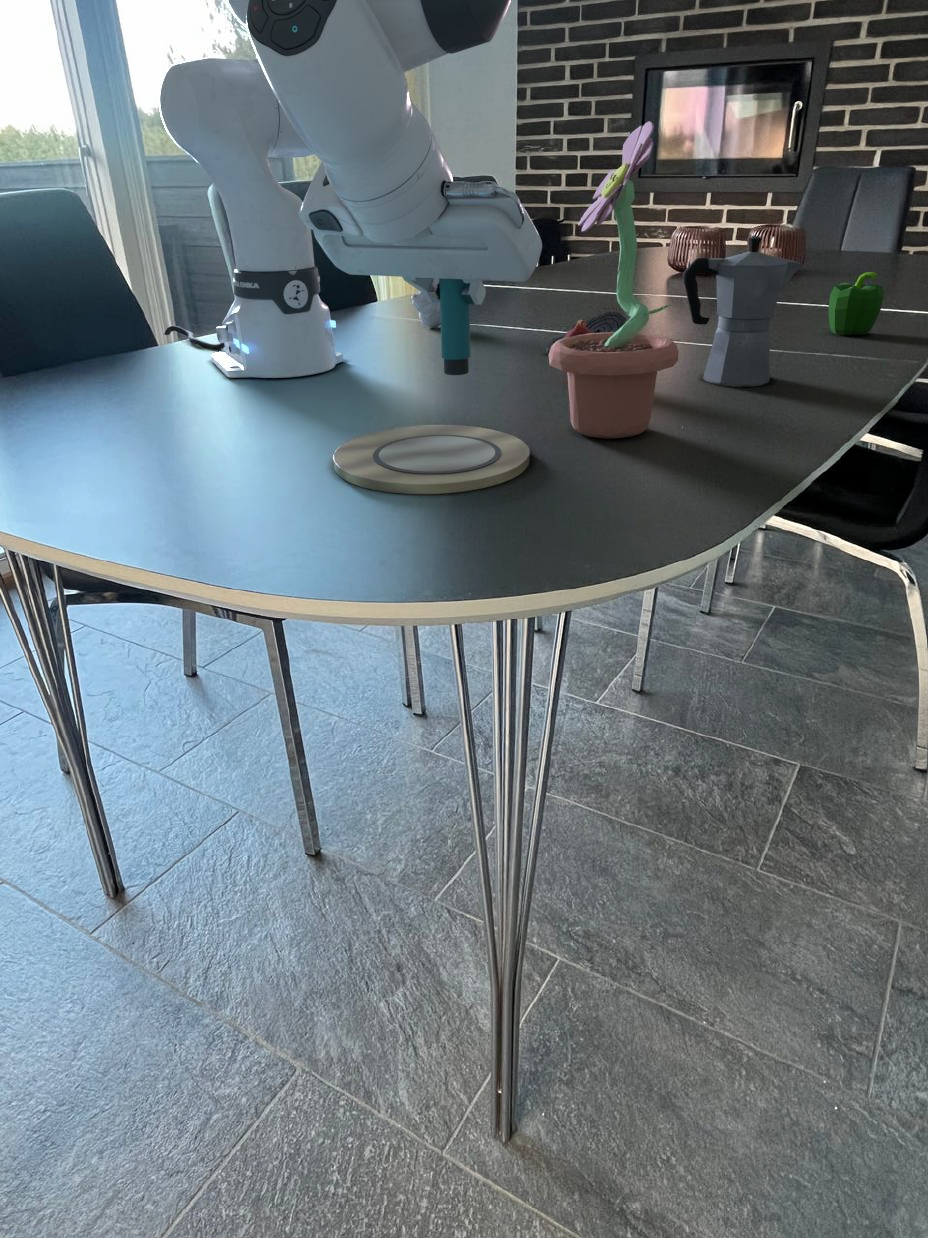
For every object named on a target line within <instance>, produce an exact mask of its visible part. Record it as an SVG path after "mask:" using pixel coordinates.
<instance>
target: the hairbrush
mask: <svg viewBox="0 0 928 1238" xmlns="http://www.w3.org/2000/svg"><path fill="white" fill-rule="evenodd" d="M611 308H612V311H613V312H612V311H608V310H610V308H609V307H607V308H605V309H604V312H603V311H600V310H598V311H597V312H596V310H595V313H596V316H593V312H592V313H590V314H591V317H588V318H589V319H588V318H585V319H586V320H585V319H584V318H583V319H582V320H583V321H584V320H585V322H586V324H585V326H586V328H587V329H589V330H590V331H591V332H592V333H602V332H616V331H618V330H619V329H620V328H621V327H622V326H623V325H624V324H625V323H626V322H627V321H628V319H627V317H626V316H624V313H623V312H622V311H621V308H618V309H619V311H620V312H619V311H618V309H617V307H616V308H615V309H614V307H611ZM576 324H577V323H576ZM576 324H574V325H572V329H574V328H575V326H576ZM570 331H571V330H569V331H567V332H564V333H561V334H559V335H558V336H556V337H554V338H552V339H551V340H550V342H549V343H548V344H546V354H547V356H548V357H549V352H550V349H551V346H552V345H553V344H554V343H555V342H556V341H558V340H561V339H563V338H564V337H565V335H566V334H567V333H568V332H570Z"/></svg>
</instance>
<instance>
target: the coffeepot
mask: <svg viewBox="0 0 928 1238" xmlns="http://www.w3.org/2000/svg"><path fill="white" fill-rule="evenodd" d="M762 239H763V237H760V236H758V235H754V236H751V237H749V238H748V250H749V251H747V252H743V253H739V254H736V255H731V256H729V257H725V258H717V257H716V258H715V257H714V258H709V257H696V258H695V259H694V260H693V261H692V262H691V263H689V266H688V267H686V269H685V270H684V271H683V273H682V281H683V286H684V291H685V295H686V299H687V305H688V308H689V312H690V318H691V322H692V323H693V324H695V325H701V326H702V325H703V326H704V325H708V323H709V321H710V317H709V316H702V315H701V308H702V307H701V305H702V302H701V300H700V297H699V285H698V284H699V283H698V280H697V276H698V275H699V274H707V275H713V276H714V275H715V276H716V278H715V279H716V315H717V316H718V322H717V328H716V330H715V332H714V333H715V334H714V338H713V342H712V345H711V348H710V353H709V356H708V359H707V363H706V366H705V370H704V373H703V376H702V379H703V380H704V381H706V382H708V383H710V384H713V385H717V386H722V387H723V386H724V387H734V388H735V387H736V388H751V387H752V388H753V387H760V386H764V385H767V384H768V383H769V382H770V379H771V333H770V331H771V330H770V328H771V321H772V317H774V314H775V311H776V307H777V303H778V300H779V296H780V294H781V293H782V292H783V290H784V289H785V287H786V286H787V284H788V283H789V281H790V280H791V279H792V277H793V276H794V275H795V273H796V272H797V271H798V270H799V269H802V268H803V264H802V262H798V261H794V260H791V259H786V258H783V257H778V256H775V255H770V254H766V253H764V252H761V251H759V249H760V247H761V246H760V245H761V242H762Z"/></svg>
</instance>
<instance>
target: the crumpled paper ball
mask: <svg viewBox="0 0 928 1238" xmlns="http://www.w3.org/2000/svg"><path fill="white" fill-rule="evenodd" d="M411 299H412V301H411V302H412V303H411V304H412V306H413V307H414V309H415V310H416V311H417V312H418V317H419V320H420V322H421V323H422V325H424V326H425V327H427V328H430V329H434V328H438V327H441V318H440V302H428V300H427V299H426V297H425V295H424V294H423V292H421V291H419V290H417V292H416V293H414V294H413V295H412V296H411Z"/></svg>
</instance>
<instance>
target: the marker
mask: <svg viewBox="0 0 928 1238" xmlns="http://www.w3.org/2000/svg"><path fill="white" fill-rule="evenodd" d="M439 286H440V318H441V325H440V345H441V346H440V347H441V358H442V359H443V373H444V374H445V375H448V376H464V375H467V374H468V373H469V359H470V358H471V312H470V311H471V309H470V306H471V304H466V303H465V299H463V297H462V295H461V292H462V289H463V288H464V287H465V283H464V282H463V280H462V279H443V278H439Z"/></svg>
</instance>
